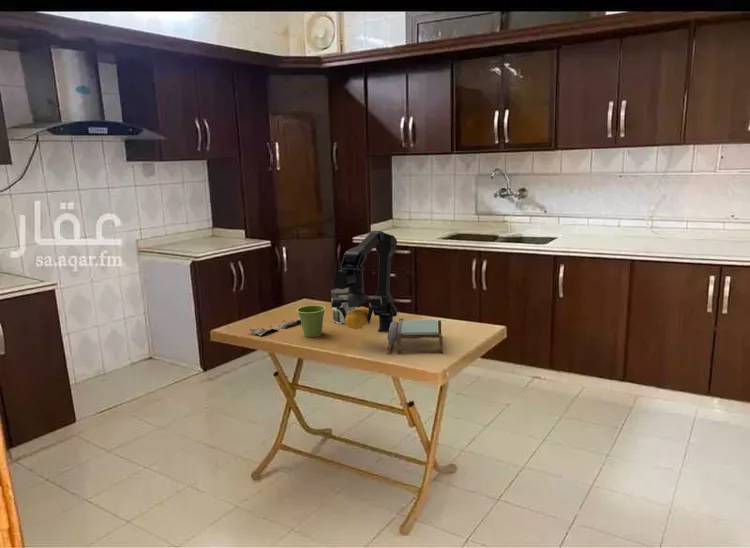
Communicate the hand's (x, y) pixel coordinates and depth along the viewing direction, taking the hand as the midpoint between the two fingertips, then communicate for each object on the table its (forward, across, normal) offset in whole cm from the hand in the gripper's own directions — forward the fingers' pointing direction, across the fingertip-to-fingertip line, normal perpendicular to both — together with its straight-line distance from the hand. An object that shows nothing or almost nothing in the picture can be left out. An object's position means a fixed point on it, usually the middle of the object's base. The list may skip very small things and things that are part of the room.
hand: (358, 323), depth 208 cm
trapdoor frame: (+8, +22, -1) cm, 23 cm away
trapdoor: (+5, +21, -1) cm, 21 cm away
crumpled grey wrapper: (+9, -37, +29) cm, 48 cm away
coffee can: (+9, -11, +35) cm, 38 cm away
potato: (+2, 0, 0) cm, 2 cm away
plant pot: (+9, -21, +14) cm, 27 cm away
